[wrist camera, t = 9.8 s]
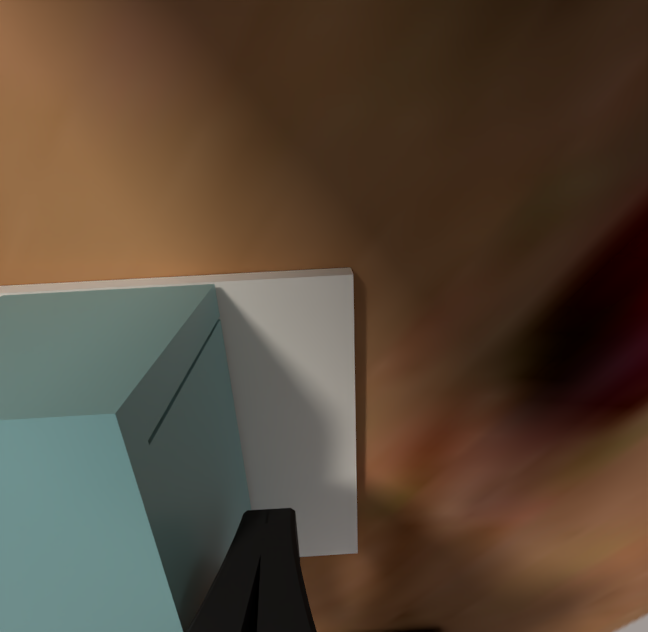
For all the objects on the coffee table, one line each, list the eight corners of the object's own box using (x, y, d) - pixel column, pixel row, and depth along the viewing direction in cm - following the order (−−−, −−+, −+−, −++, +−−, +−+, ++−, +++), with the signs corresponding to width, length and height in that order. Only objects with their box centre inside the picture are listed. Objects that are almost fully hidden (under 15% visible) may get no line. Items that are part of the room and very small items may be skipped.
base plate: (355, 535, 16) (368, 644, 13) (-65, 562, 16) (-175, 681, 12) (350, 267, 12) (369, 316, 8) (-237, 298, 12) (-494, 364, 8)
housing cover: (260, 564, 15) (232, 791, 10) (112, 574, 15) (1, 807, 10) (214, 284, 11) (115, 412, 5) (3, 295, 11) (-323, 439, 5)
